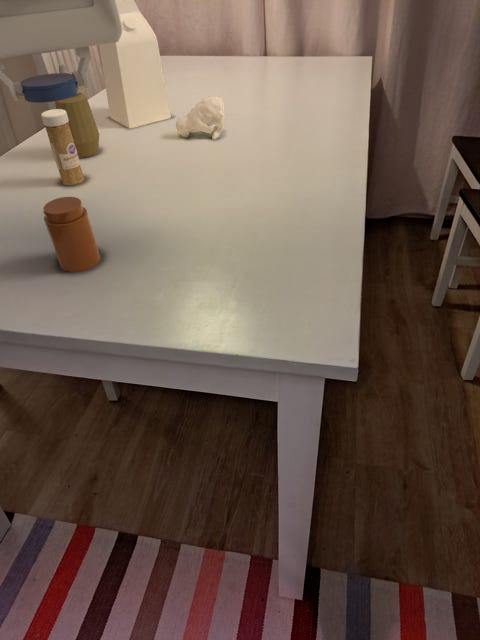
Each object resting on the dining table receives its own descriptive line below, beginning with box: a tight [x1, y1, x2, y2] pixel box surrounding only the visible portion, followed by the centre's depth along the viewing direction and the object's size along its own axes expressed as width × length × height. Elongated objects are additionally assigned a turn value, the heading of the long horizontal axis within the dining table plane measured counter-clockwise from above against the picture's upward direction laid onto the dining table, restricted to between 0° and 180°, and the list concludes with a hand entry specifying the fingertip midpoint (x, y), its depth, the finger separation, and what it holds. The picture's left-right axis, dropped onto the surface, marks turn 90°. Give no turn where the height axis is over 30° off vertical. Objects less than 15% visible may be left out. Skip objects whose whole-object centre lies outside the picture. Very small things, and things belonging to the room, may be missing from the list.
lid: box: [19, 72, 78, 104], centre depth 58 cm, size 7×6×2 cm
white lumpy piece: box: [175, 95, 226, 140], centre depth 108 cm, size 6×8×12 cm
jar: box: [42, 196, 101, 273], centre depth 68 cm, size 6×6×10 cm
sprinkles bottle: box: [40, 108, 85, 187], centre depth 90 cm, size 5×5×13 cm
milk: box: [98, 0, 172, 129], centre depth 114 cm, size 12×12×26 cm
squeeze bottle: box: [54, 64, 100, 159], centre depth 99 cm, size 8×8×18 cm
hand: (51, 93), depth 59 cm, fingers closed on lid, 6 cm apart
